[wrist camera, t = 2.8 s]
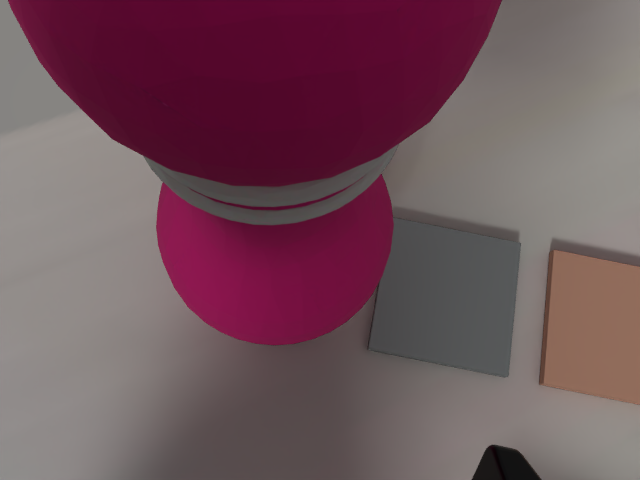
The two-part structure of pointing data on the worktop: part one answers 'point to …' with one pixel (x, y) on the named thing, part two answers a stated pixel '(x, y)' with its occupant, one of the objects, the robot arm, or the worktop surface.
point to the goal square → (592, 327)
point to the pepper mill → (264, 135)
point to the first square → (447, 298)
